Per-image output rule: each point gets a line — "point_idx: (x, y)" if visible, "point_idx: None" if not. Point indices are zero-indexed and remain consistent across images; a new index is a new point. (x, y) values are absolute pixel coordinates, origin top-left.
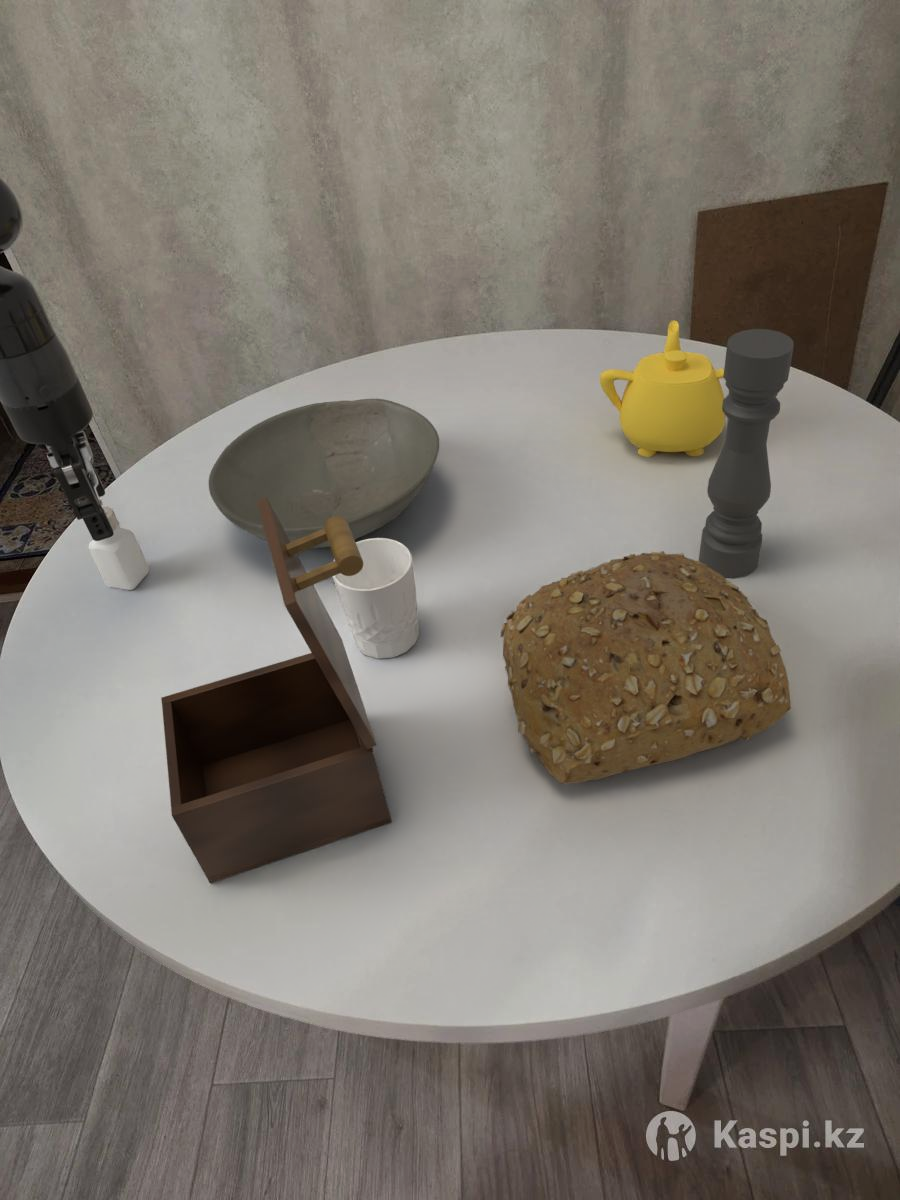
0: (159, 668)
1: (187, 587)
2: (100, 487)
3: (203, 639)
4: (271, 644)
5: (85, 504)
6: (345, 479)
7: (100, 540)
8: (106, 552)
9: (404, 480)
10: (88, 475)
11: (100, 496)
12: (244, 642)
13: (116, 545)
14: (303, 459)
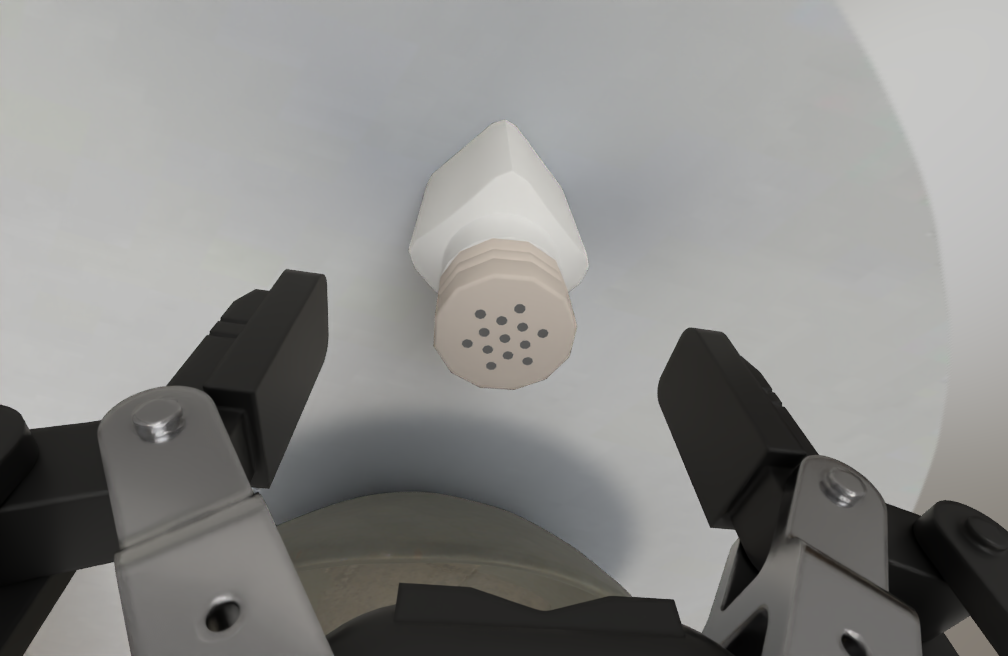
0: (16, 136)
1: (360, 301)
2: (671, 417)
3: (121, 271)
4: (57, 375)
5: (1, 549)
6: (490, 590)
7: (460, 245)
8: (428, 226)
9: None
10: (715, 467)
11: (665, 371)
12: (80, 338)
13: (431, 274)
14: (567, 595)
